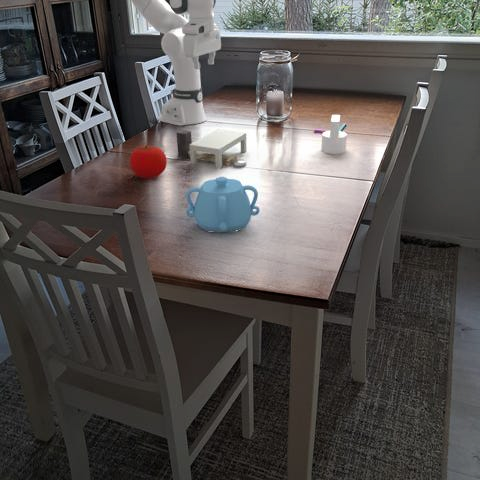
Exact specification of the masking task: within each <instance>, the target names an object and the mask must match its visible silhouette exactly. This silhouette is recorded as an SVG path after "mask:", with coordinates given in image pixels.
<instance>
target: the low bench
mask: <svg viewBox="0 0 480 480" xmlns="http://www.w3.org/2000/svg"><path fill="white" fill-rule="evenodd" d="M239 143H240V152H242V153H246V152H247V132H244V131H235V130H227V129H223V128H222V129H220V128H216V130H214V131H211V132H210V133H207V135H204V136H203V137H200V138H198V139H196V140H195V141H192V143H191V144H189V145H190V158H189V160H190V164H191V165H193V164H194V165H195V164H197V163H198V159H197V155H196V151H197V152H203V153H209V154H215V159H216V162H215V168H216V169H222V167H223V163H222V156H223V155H222V154H223V153H226V151H228V150H229V149H231V148H232V147H234V146H236V145H237V144H239Z"/></svg>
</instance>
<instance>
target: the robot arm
mask: <svg viewBox="0 0 480 480" xmlns="http://www.w3.org/2000/svg"><path fill="white" fill-rule="evenodd" d="M130 1H131V3H132V5H133V6H134V7H135V8H136V10H137V11H138V12H139V14H140V15H141V16H142V17H143V18H144V19H145V20H146V21H147V23H149V25H150V26H152V27H153V29H155V31H156V32H159V33H160V34H163V36H162V38H161V42H160V44H161V49H162V51H163V53H164V54H165V55H166V56H167V57H168V59H169V61H170V63H171V66H172V69H173V76H174V86H175V87H174V88H173V89H172V90H170V94H172V97H171V98H169V99H168V100H167V101H166V102H165V103H164V104H163V105H162V107H161V114H160V115H159V116H157V117H156V119H157V120H156V121H158V122H163V123H166V124H167V123H168V124H171V125H175V126H187V125H195V124H196V125H197V124H201V123H204V122H205V121H207V116H206V114H205V111H204V105H203V88H202V84H201V70H200V69H201V63H200V61H199V56H203V55H206V54H207V55H209V56H208V59H207V64H208V65H214V64H215V56H216V52H217V51H219V50H221V48H222V40H221V32H220V30H219V27H218V25H217V24H216V21H215V14H214V13H215V12H214V7H215V6H216V3H217V0H168V2H167V1H166V0H130ZM184 15H188V17H189V18H188V19H187V18H186V17H184Z"/></svg>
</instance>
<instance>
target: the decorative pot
mask: <svg viewBox="0 0 480 480" xmlns="http://www.w3.org/2000/svg"><path fill="white" fill-rule="evenodd" d="M247 191H251V192H253V199H252V201H250V199H249V196H248V195H249V194H247ZM194 192H195V193H196V192H198V193H197V196H196V199H195V203H193V201H192V198H191V194H192V193H194ZM258 197H259V192H258V190H257V188H255V187H254V186H252V185H250V184H246V185H243V184H242V181H240V180H238V179H234V178H227V177H225V176H218V177H216V178H215V179H209V180H206V181H204V182H203V183H202V185H201V187H200V186H199V187H198V186H195V187H191V188H190V189H188V190H187V192H186V197H185V198H186V202H187V203H188V204H187V205H188V206H189V207H188V208H187V209H186V210H185V213H186V214H185V215H186V216H187V217H188V218H194V220H195V222H196V224H197V225H198V226H199V228H201V229H202V230H204V231H206V232H207V231H214V232H213V233H215V232H216V233H217V232H218V233H224V232H225V233H227V232H233V231H236V230H239V229H240V230H242V229H244V228H246V226H247V225H248V224H249V223H250V221H251V218H252V217H253V216H257V215H259V213H260V212H261V211H260V207H259V206H257V205H256V203H257V200H258ZM250 202H251V203H250ZM254 210H255V211H254ZM190 211H192V212H190ZM240 230H239V231H240Z"/></svg>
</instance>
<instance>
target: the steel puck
mask: <svg viewBox="0 0 480 480" xmlns="http://www.w3.org/2000/svg"><path fill="white" fill-rule="evenodd" d="M246 166H247V160H246V159H245V158H237V159H234V160H232V165H231V167H235V168H243V167H244V168H245V167H246Z"/></svg>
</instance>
